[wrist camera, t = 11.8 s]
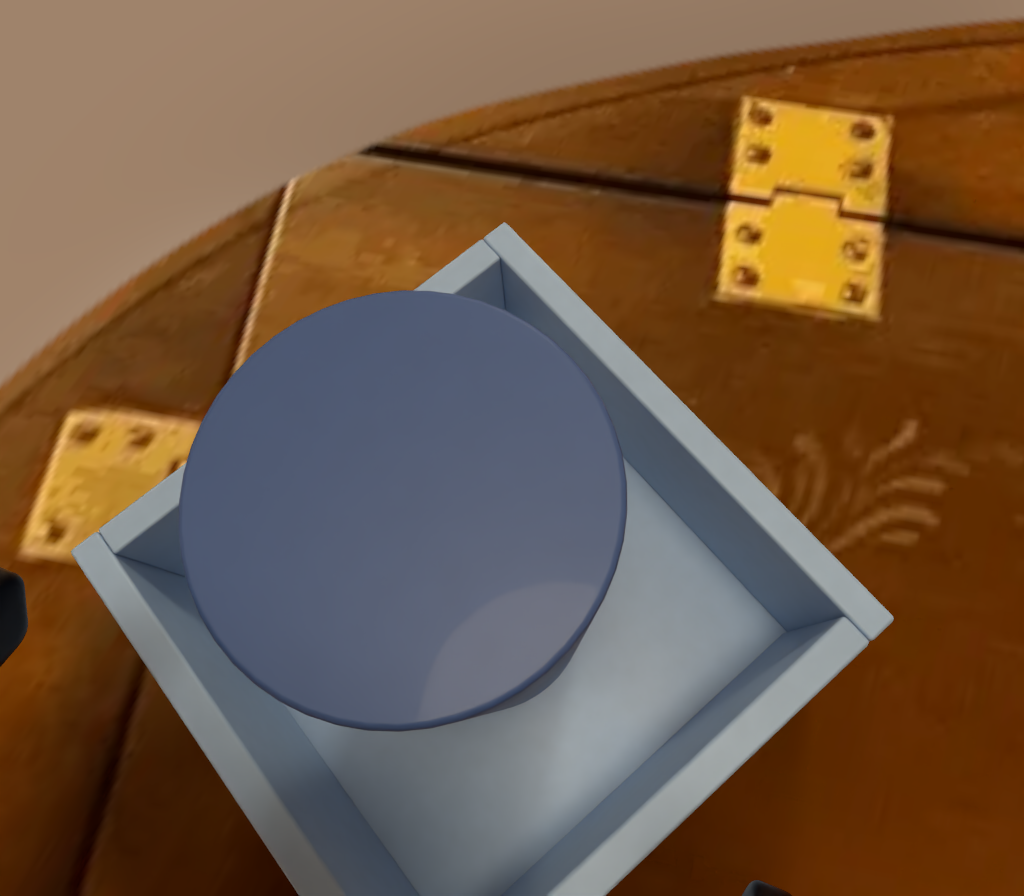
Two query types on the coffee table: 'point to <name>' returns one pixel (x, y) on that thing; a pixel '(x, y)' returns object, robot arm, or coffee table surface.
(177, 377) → the coffee table surface
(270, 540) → the dark blue cylinder
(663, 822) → the slate bin
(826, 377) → the coffee table surface
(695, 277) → the coffee table surface
